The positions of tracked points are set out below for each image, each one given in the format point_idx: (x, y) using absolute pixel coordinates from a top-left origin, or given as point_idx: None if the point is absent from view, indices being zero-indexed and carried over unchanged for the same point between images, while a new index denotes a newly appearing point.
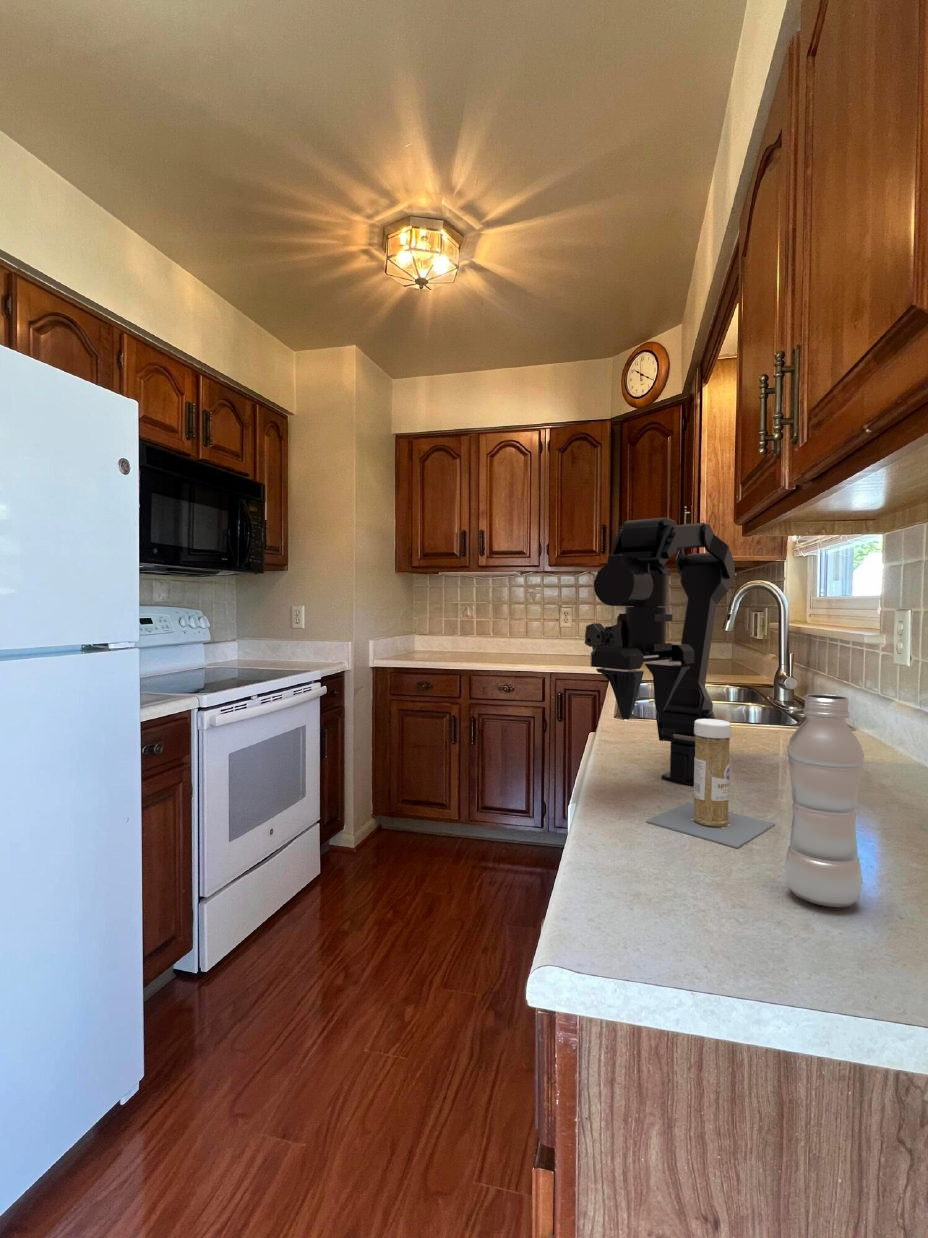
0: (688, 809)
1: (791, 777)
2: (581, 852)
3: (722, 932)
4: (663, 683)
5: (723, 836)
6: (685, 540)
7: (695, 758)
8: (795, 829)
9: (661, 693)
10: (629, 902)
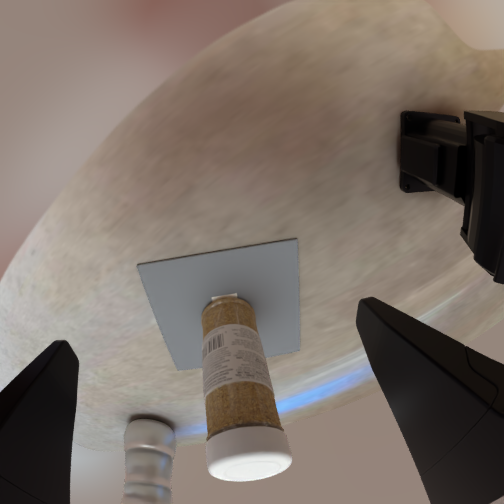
0: (255, 265)
1: (125, 500)
2: (5, 288)
3: None
4: (434, 428)
5: (192, 350)
6: None
7: (210, 391)
8: (126, 465)
9: (403, 383)
10: (14, 364)
